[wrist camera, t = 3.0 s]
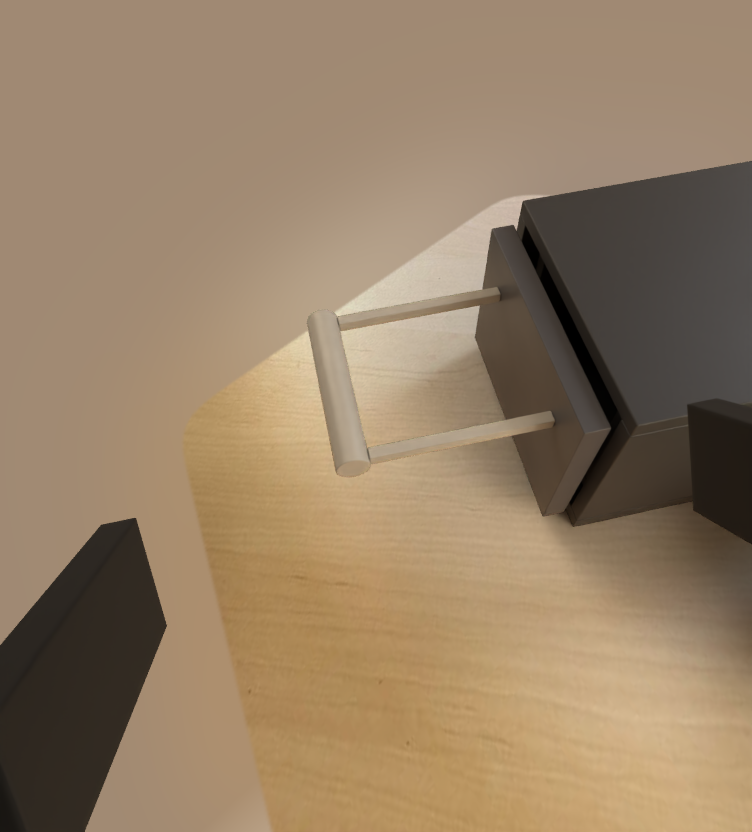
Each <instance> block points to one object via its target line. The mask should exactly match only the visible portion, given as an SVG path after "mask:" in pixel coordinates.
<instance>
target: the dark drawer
mask: <svg viewBox="0 0 752 832" xmlns="http://www.w3.org/2000/svg"><path fill="white" fill-rule="evenodd" d="M479 305H480V309H479V315H478V321H477V328H476V334H475V339H476V341H477V344H478V347H479V349H480V352H481V355H482V357H483V360H484V363H485V365H486V368H487V370H488V373H489V376H490V378H491V381H492V384H493V386H494V389H495V392H496V394H497V397H498V400H499V402H500V405H501V407H502V410H503V413H504V415H505V418H506V420H502V421H497V422H492V423H487V424H483V425H478V426H473V427H468V428H463V429H458V430H453V431H448V432H443V433H438V434H433V435H428V436H423V437H418V438H413V439H408V440H403V441H398V442H393V443H388V444H384V445H379V446H374V447H369V448H368V450H367V446H366V442H365V437H364V433H363V429H362V424H361V420H360V416H359V411H358V407H357V403H356V398H355V394H354V389H353V385H352V381H351V376H350V372H349V368H348V363H347V359H346V355H345V350H344V346H343V341H342V337H341V333H340V331H345V330H350V329H356V328H361V327H366V326H372V325H377V324H382V323H388V322H393V321H398V320H404V319H409V318H414V317H420V316H425V315H430V314H436V313H441V312H447V311H452V310H457V309H463V308H468V307H473V306H479ZM337 319H338V320H337ZM307 326H308V331H309V336H310V341H311V346H312V351H313V357H314V362H315V367H316V372H317V377H318V382H319V387H320V393H321V398H322V403H323V408H324V413H325V418H326V424H327V429H328V434H329V439H330V444H331V449H332V455H333V460H334V465H335V470H336V473H337V474H338V475H339V476H342V477H355V476H359V475H361V474H363V473H365V472H367V471H368V470H369V469H370V466H371V464H375V463H380V462H385V461H390V460H395V459H400V458H405V457H409V456H414V455H419V454H424V453H429V452H434V451H439V450H444V449H449V448H454V447H458V446H463V445H468V444H473V443H478V442H483V441H488V440H493V439H498V438H503V437H507V436H512V437H513V439H514V442H515V444H516V447H517V450H518V452H519V455H520V458H521V460H522V463H523V466H524V468H525V471H526V474H527V476H528V479H529V481H530V484H531V487H532V489H533V492H534V495H535V497H536V500H537V503H538V505H539V508H540V511H541V513H542V516H548V515H552V514H557V513H562V512H564V511H565V509H566V507H567V505H568V504H569V502H570V500H571V498H572V496H573V495H574V493H575V491H576V489H577V488H578V486H579V484H580V482H582V484H583V485H584V483H585V482H586V480H587V478H588V476H589V475H590V473H591V471H592V470H593V468H594V466H595V464H596V463H597V461H598V459H599V457H600V456H601V454H602V452H603V451H604V449H605V447H606V445H607V444H608V442H609V440H610V439H611V437H612V435H613V433H614V432H615V430H616V428H617V427H618V425H619V423H620V421H621V420H622V418H621V416H620V414H619V412H618V410H617V408H616V406H615V404H614V402H613V400H612V398H611V396H610V394H609V392H608V390H607V388H606V386H605V384H604V382H603V380H602V378H601V376H600V374H599V372H598V370H597V368H596V366H595V364H594V362H593V360H592V358H591V356H590V354H589V352H588V350H587V348H586V346H585V344H584V342H583V340H582V338H581V336H580V334H579V332H578V330H577V328H576V326H575V324H574V322H573V319H572V317H571V315H570V313H569V311H568V309H567V307H566V305H565V303H564V301H563V299H562V297H561V295H560V293H559V291H558V289H557V287H556V285H555V283H554V281H553V279H552V277H551V275H550V273H549V271H548V269H547V267H546V265H545V263H544V261H543V259H542V257H541V255H540V254H539V258H538V262H537V266H536V270H535V268H534V266H533V264H532V262H531V260H530V258H529V256H528V254H527V252H526V250H525V248H524V246H523V244H522V241H521V239H520V237H519V235H518V233H517V231H516V229H515V227H514V225H511V226H505V227H499V228H494V229H492V232H491V238H490V244H489V251H488V257H487V264H486V270H485V276H484V283H483V289H482V290H478V291H472V292H467V293H461V294H456V295H451V296H445V297H440V298H434V299H429V300H424V301H418V302H413V303H407V304H402V305H397V306H391V307H386V308H380V309H375V310H369V311H364V312H359V313H353V314H348V315H342V316H338V317H337V316H336V314H335V313H334V312H332V311H330V310H318V311H315V312H313V313H312V314H311V315H310V316H309V317H308V319H307Z"/></svg>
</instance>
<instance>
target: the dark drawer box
mask: <svg viewBox="0 0 752 832" xmlns="http://www.w3.org/2000/svg"><path fill="white" fill-rule="evenodd" d="M517 233H518V235H519V237H520V239H521V241H522V244H523V246H524V248H525V250H526V252H527V254H528V256H529V258H530V260H531V262H532V264H533V266H534V268H535V270H536V266H537V262H538V258H539V254H540V255H541V257H542V259H543V261H544V263H545V265H546V267H547V269H548V271H549V273H550V275H551V277H552V279H553V281H554V283H555V285H556V287H557V289H558V291H559V293H560V295H561V297H562V299H563V301H564V303H565V305H566V307H567V309H568V311H569V313H570V315H571V317H572V319H573V322H574V324H575V326H576V328H577V330H578V332H579V334H580V336H581V338H582V340H583V342H584V344H585V346H586V348H587V350H588V352H589V354H590V356H591V358H592V360H593V362H594V364H595V366H596V368H597V370H598V372H599V374H600V376H601V378H602V380H603V382H604V384H605V386H606V388H607V390H608V392H609V394H610V396H611V398H612V400H613V402H614V404H615V406H616V408H617V410H618V412H619V414H620V416H621V418H622V420H621V421H620V423H619V425H618V427H617V428H616V430H615V432H614V433H613V435H612V437H611V439H610V440H609V442H608V444H607V445H606V447H605V449H604V451H603V452H602V454H601V456H600V457H599V459H598V461H597V463H596V464H595V466H594V468H593V470H592V471H591V473H590V475H589V476H588V478H587V480H586V482H585V483H584V485H583V484H582V482H580V484H579V486H578V488H577V489H576V491H575V493H574V495H573V496H572V498H571V500H570V502H569V504H568V505H567V507H566V510H567V513H568V515H569V518H570V520H571V523H572V525H573V527H575V526H580V525H584V524H589V523H594V522H598V521H603V520H607V519H612V518H617V517H621V516H626V515H630V514H635V513H640V512H644V511H649V510H653V509H658V508H663V507H667V506H672V505H676V504H681V503H686V502H690V501H693V494H692V478H691V461H690V444H689V428H688V411H687V404H690V403H695V402H700V401H705V400H710V399H715V398H719V399H722V400H726V401H730V402H733V403H737V404H740V405H744V406H748V407H751V408H752V161H749V162H744V163H737V164H732V165H726V166H720V167H714V168H709V169H703V170H697V171H691V172H686V173H680V174H674V175H669V176H663V177H657V178H651V179H646V180H640V181H634V182H628V183H623V184H617V185H612V186H606V187H600V188H594V189H588V190H583V191H577V192H571V193H565V194H560V195H554V196H548V197H543V198H537V199H531V200H525V201H523V203H522V208H521V213H520V217H519V222H518V227H517Z"/></svg>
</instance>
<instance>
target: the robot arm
mask: <svg viewBox="0 0 752 832" xmlns="http://www.w3.org/2000/svg"><path fill="white" fill-rule="evenodd" d="M687 411H688V428H689V444H690V461H691V478H692V494H693V510H694V511H695V512H697V513H699V514H701V515H702V516H704V517H706V518H707V519H709V520H711V521H713V522H714V523H716V524H718V525H719V526H721V527H723V528H725V529H726V530H728V531H730V532H731V533H733V534H735V535H737V536H738V537H740V538H742V539H743V540H745V541H747V542H749V543H750V544H752V408H751V407H748V406H744V405H740V404H737V403H733V402H730V401H726V400H722V399H719V398H715V399H710V400H705V401H700V402H695V403H690V404H687ZM166 627H167V625H166V621H165V618H164V614H163V611H162V607H161V604H160V600H159V597H158V593H157V590H156V586H155V583H154V579H153V576H152V572H151V569H150V566H149V562H148V559H147V555H146V552H145V548H144V545H143V541H142V538H141V534H140V531H139V527H138V524H137V520H136V518H132V519H127V520H123V521H118V522H113V523H108V524H103V525H101V526H100V527H99V528H98V529H97V531H96V532H95V533H94V534H93V535H92V537H91V538H90V539H89V540H88V541H87V542H86V544H85V545H84V546H83V547H82V549H81V550H80V551H79V552H78V553H77V554H76V556H75V557H74V558H73V559H72V560H71V562H70V563H69V564H68V565H67V566H66V568H65V569H64V570H63V571H62V572H61V573H60V575H59V576H58V577H57V578H56V580H55V581H54V582H53V583H52V584H51V585H50V587H49V588H48V589H47V590H46V591H45V593H44V594H43V595H42V596H41V597H40V599H39V600H38V601H37V602H36V603H35V605H34V606H33V607H32V608H31V609H30V610H29V612H28V613H27V614H26V615H25V616H24V618H23V619H22V620H21V621H20V622H19V624H18V625H17V626H16V627H15V628H14V630H13V631H12V632H11V633H10V634H9V636H8V637H7V638H6V639H5V640H4V642H3V643H2V644H1V645H0V832H85V829H86V826H87V824H88V821H89V819H90V817H91V814H92V812H93V809H94V807H95V804H96V802H97V799H98V797H99V794H100V792H101V789H102V787H103V784H104V781H105V779H106V777H107V774H108V772H109V769H110V767H111V764H112V762H113V759H114V757H115V754H116V752H117V749H118V747H119V744H120V742H121V739H122V737H123V734H124V732H125V729H126V727H127V724H128V722H129V719H130V717H131V714H132V712H133V709H134V707H135V704H136V702H137V699H138V697H139V694H140V692H141V689H142V687H143V684H144V682H145V679H146V677H147V674H148V672H149V669H150V667H151V664H152V662H153V659H154V657H155V654H156V652H157V649H158V647H159V644H160V641H161V639H162V637H163V634H164V632H165V629H166Z"/></svg>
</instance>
